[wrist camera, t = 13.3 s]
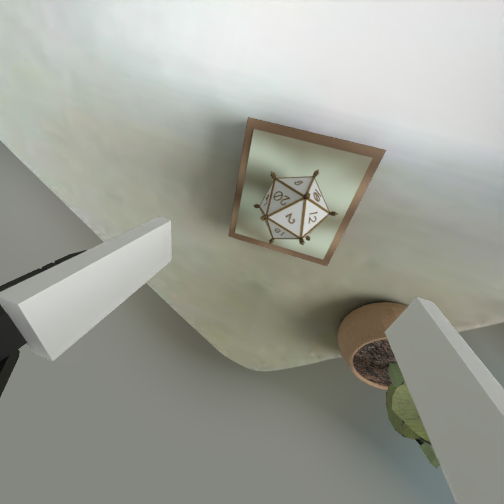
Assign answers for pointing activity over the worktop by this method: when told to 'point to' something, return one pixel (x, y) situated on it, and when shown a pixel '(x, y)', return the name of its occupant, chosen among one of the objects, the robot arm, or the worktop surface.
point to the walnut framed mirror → (300, 165)
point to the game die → (293, 207)
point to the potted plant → (382, 367)
